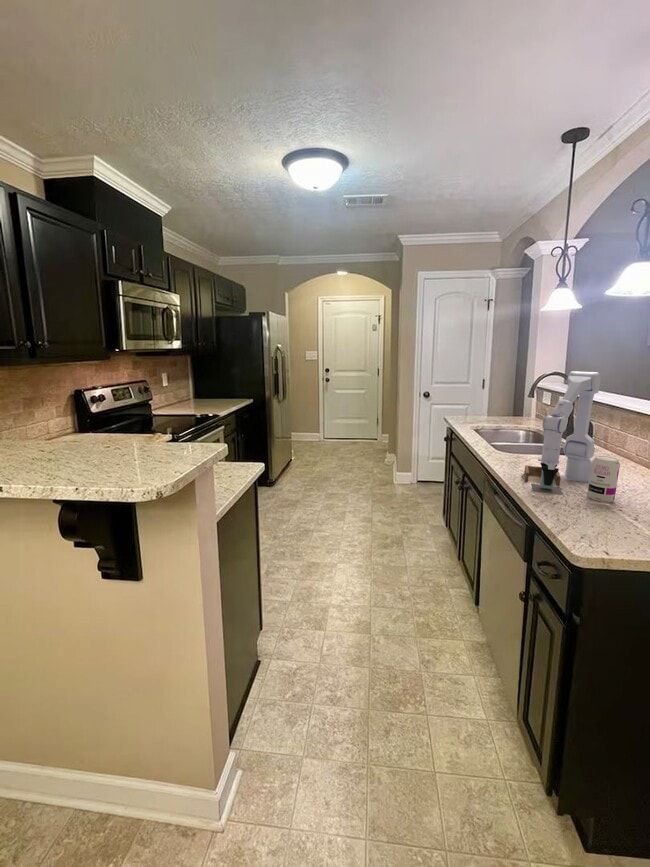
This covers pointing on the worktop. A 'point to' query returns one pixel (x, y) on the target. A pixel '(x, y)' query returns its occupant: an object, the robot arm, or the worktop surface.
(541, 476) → the block
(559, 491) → the slate mat
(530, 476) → the walnut box
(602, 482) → the supplement can
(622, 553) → the worktop surface
